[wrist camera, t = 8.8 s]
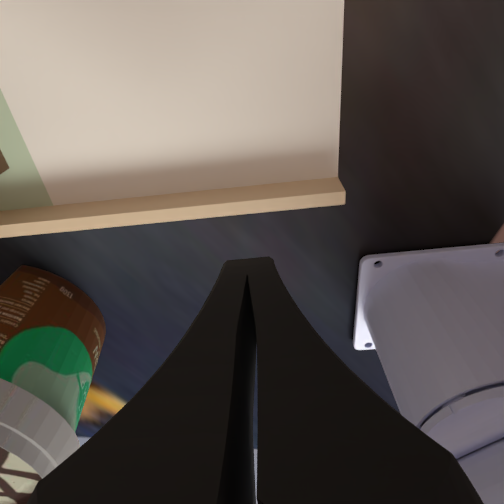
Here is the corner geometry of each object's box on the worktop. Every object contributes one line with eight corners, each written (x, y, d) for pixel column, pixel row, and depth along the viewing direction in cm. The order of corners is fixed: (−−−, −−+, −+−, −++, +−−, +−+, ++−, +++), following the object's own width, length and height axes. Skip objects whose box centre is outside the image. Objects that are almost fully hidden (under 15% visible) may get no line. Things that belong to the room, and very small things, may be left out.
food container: (119, 387, 28) (68, 545, 20) (36, 376, 27) (-54, 537, 19) (128, 263, 22) (58, 422, 13) (19, 243, 21) (-130, 402, 12)
